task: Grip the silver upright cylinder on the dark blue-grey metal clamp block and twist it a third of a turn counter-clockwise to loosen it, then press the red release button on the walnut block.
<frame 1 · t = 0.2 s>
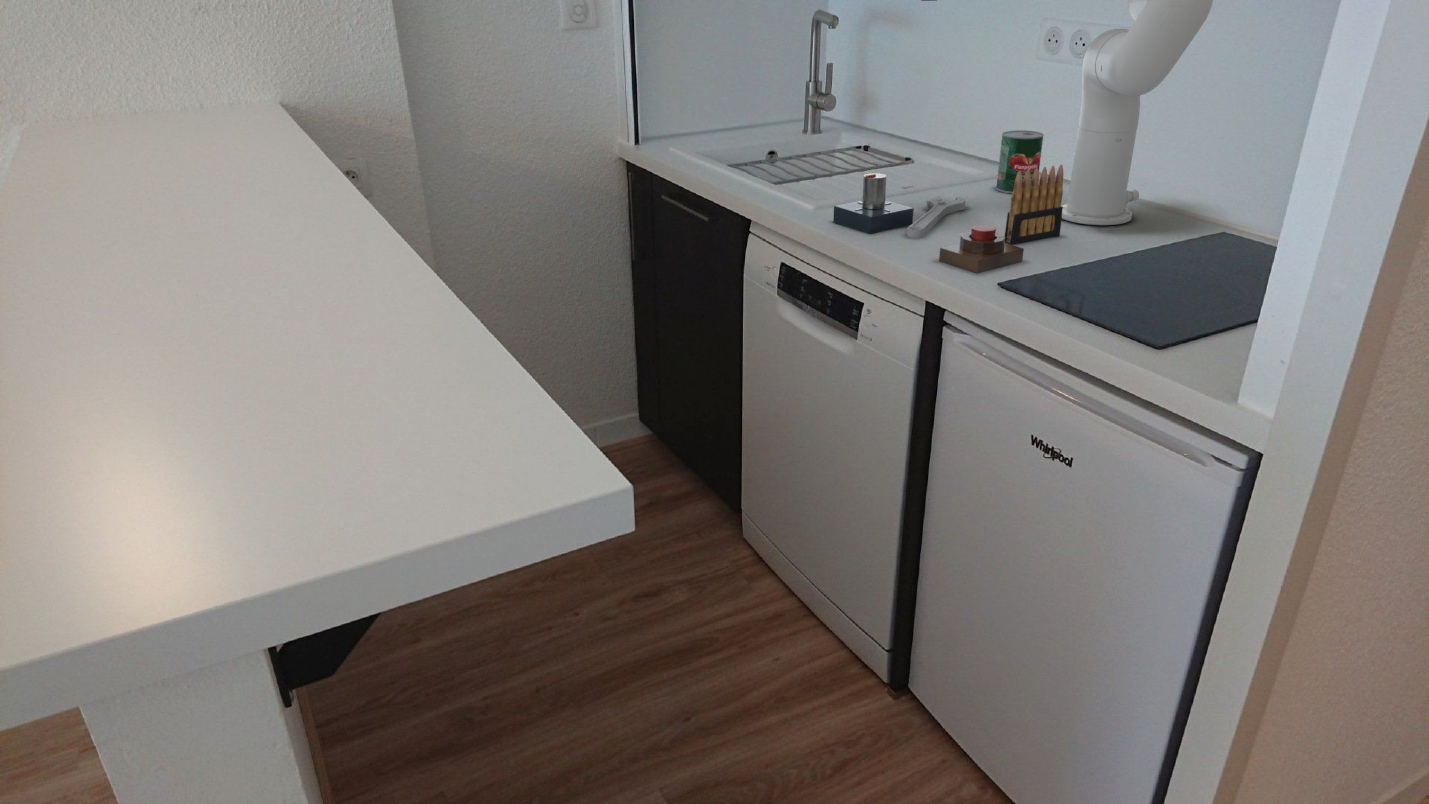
release button: (983, 233, 147), point 4 cm above the table, slide at 0.1 cm
silver upright cylinder: (874, 190, 169), point 6 cm above the table, hinge at 0.0°
clamp block: (872, 223, 171), on the table
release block: (980, 261, 149), on the table
ammunition clip: (1031, 240, 160), on the table
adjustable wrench: (929, 220, 173), on the table
canned tomato: (1016, 190, 192), on the table
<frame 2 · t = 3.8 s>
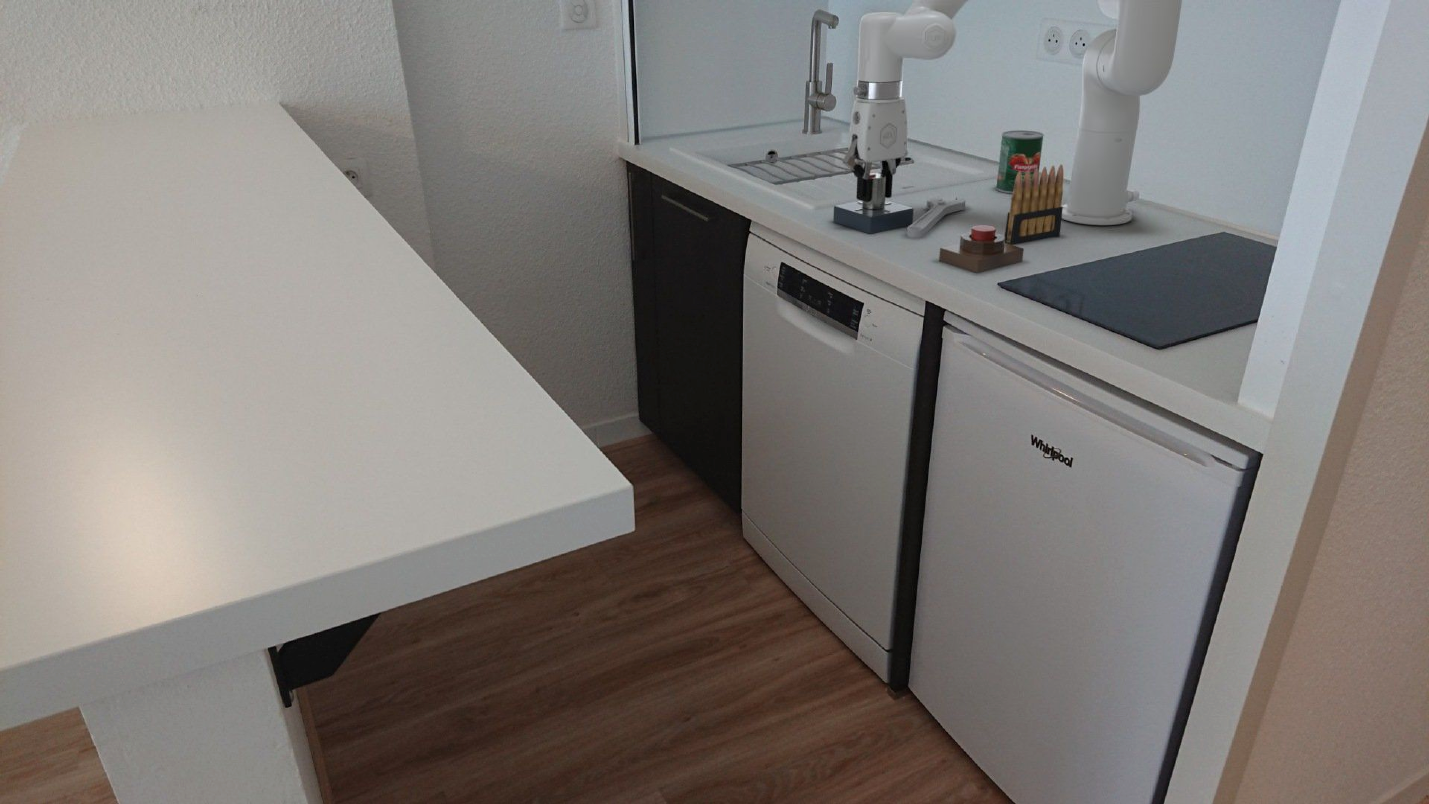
hand: (873, 197, 169), 5 cm above the table, tool pointing down, fingers closed on silver upright cylinder, 4 cm apart
silver upright cylinder: (874, 190, 169), point 6 cm above the table, hinge at 0.1°, touching gripper
everything else where it was.
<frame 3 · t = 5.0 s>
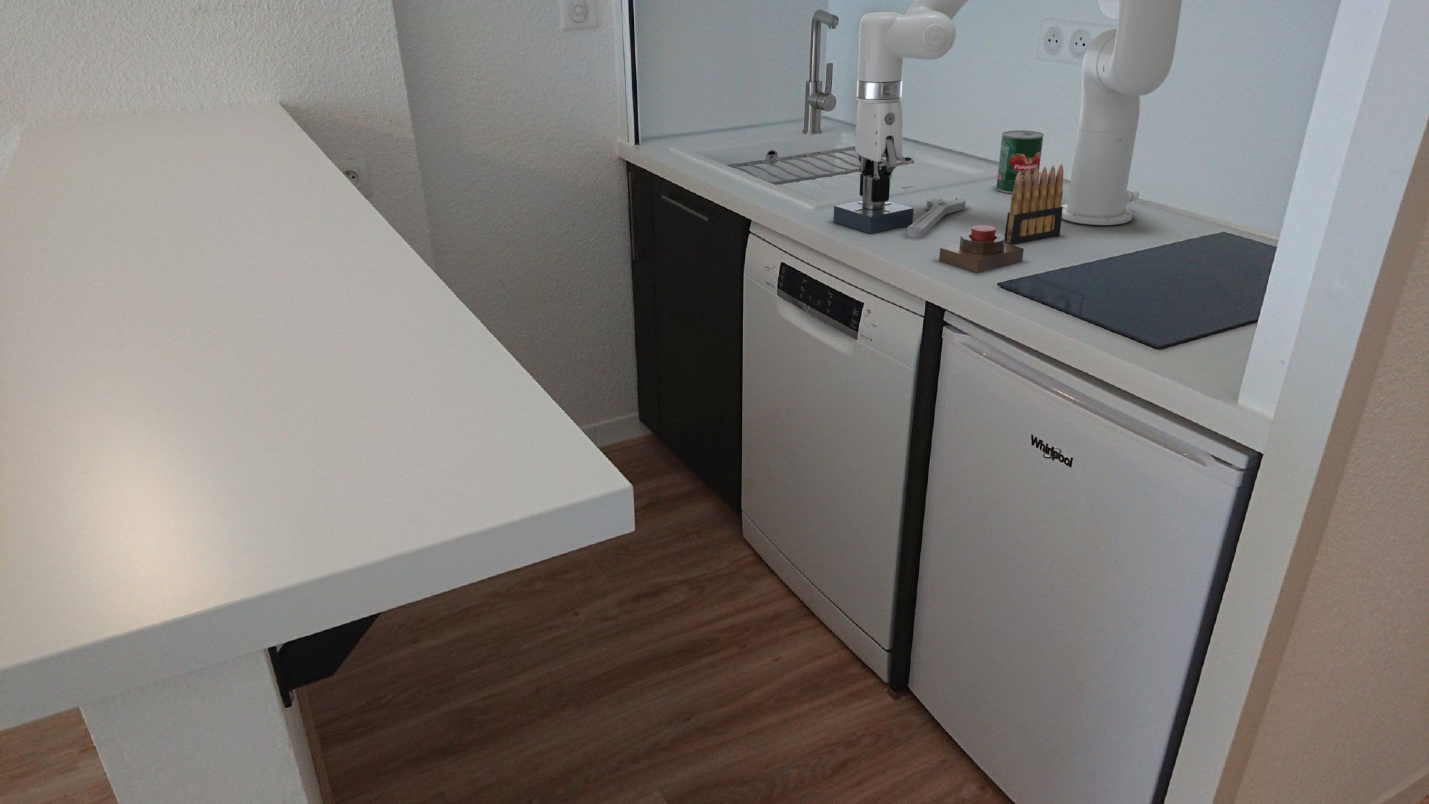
hand: (874, 197, 169), 5 cm above the table, tool pointing down, fingers closed on silver upright cylinder, 4 cm apart
silver upright cylinder: (874, 190, 169), point 6 cm above the table, hinge at 73.2°, touching gripper
everything else where it was.
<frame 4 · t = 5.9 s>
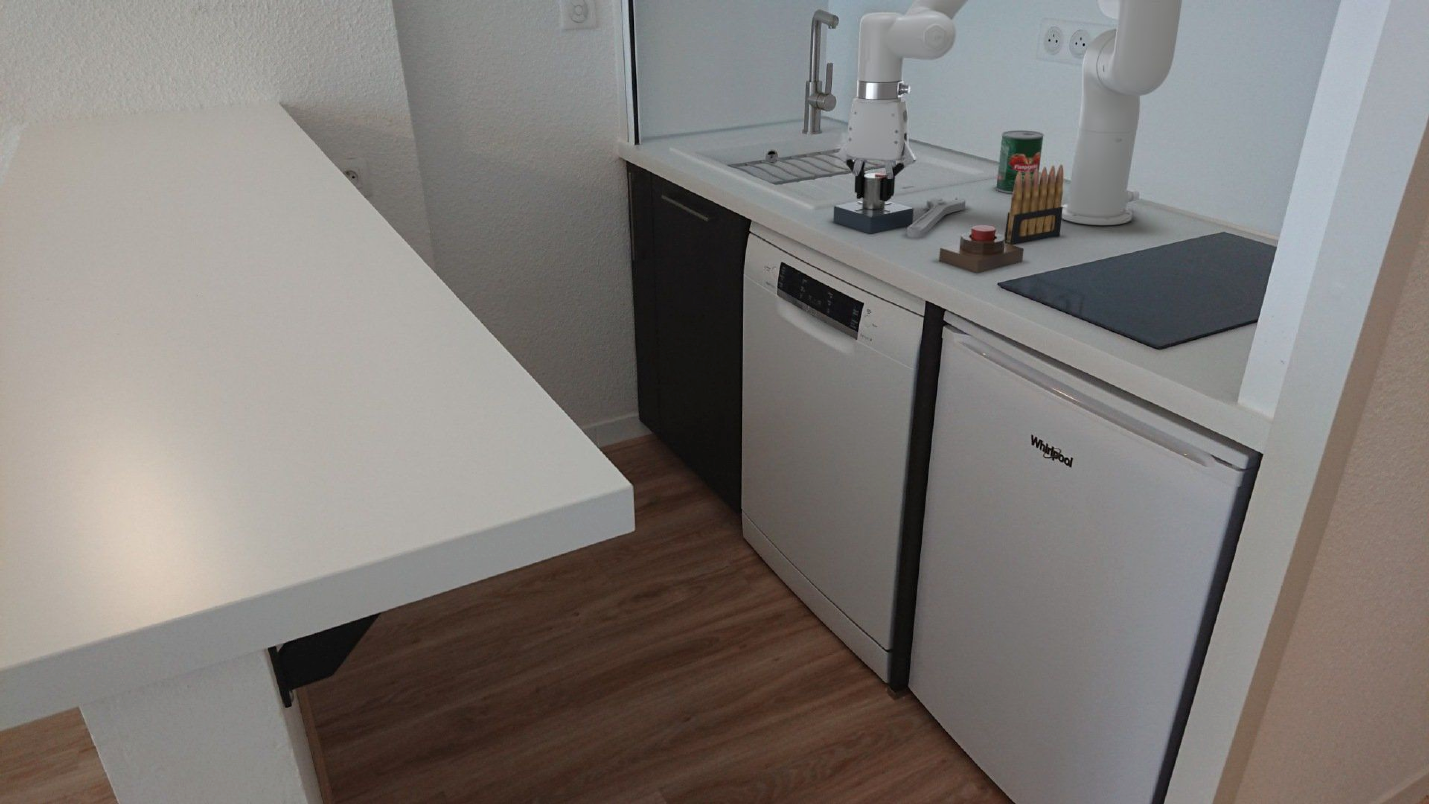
hand: (873, 197, 169), 5 cm above the table, tool pointing down, fingers closed on silver upright cylinder, 4 cm apart
silver upright cylinder: (874, 190, 169), point 6 cm above the table, hinge at 120.6°, touching gripper
everything else where it was.
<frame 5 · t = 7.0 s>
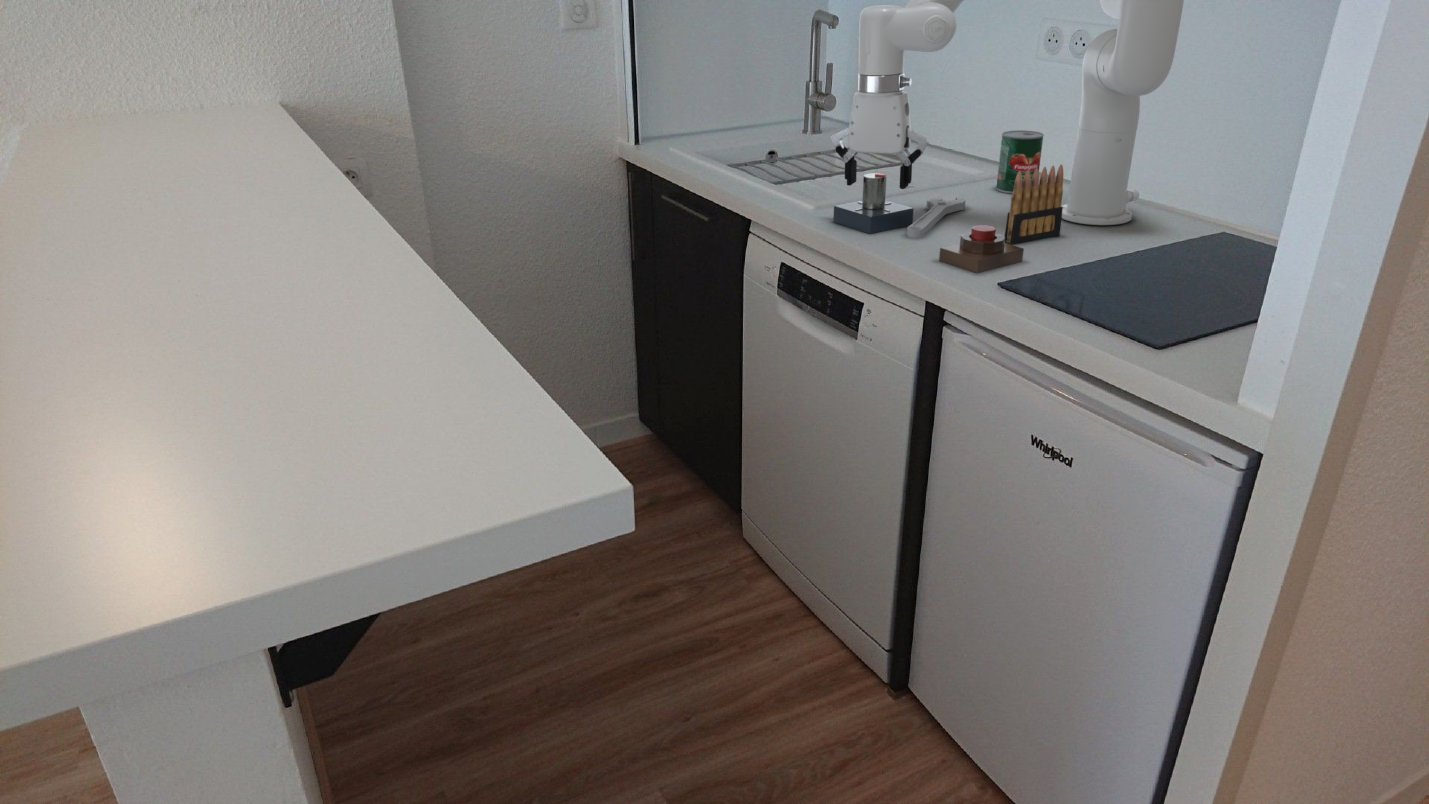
hand: (877, 185, 168), 7 cm above the table, tool pointing down, fingers open, 9 cm apart
silver upright cylinder: (874, 190, 169), point 6 cm above the table, hinge at 120.0°
everything else where it was.
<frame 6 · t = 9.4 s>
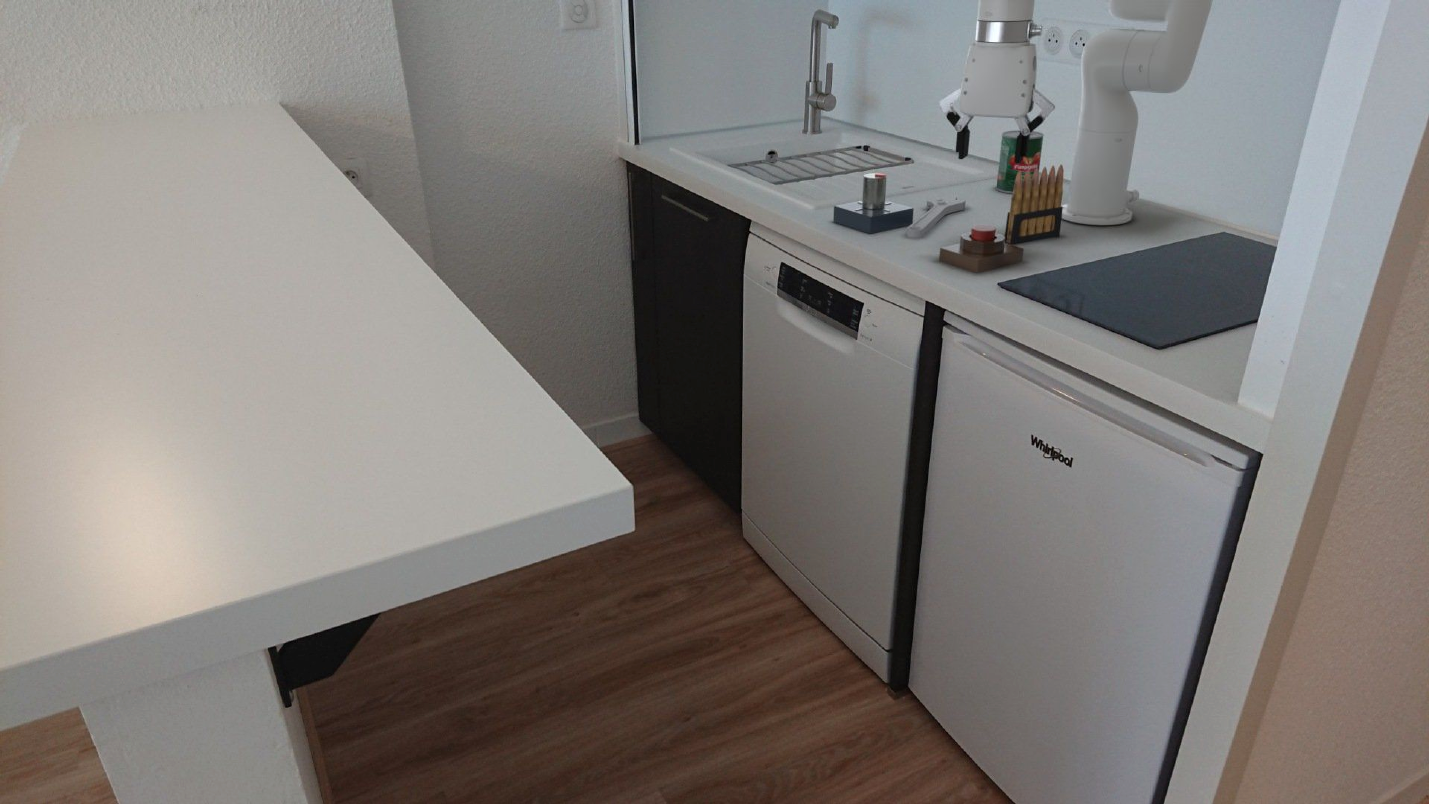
hand: (990, 158, 142), 16 cm above the table, tool pointing down, fingers open, 7 cm apart
nothing on the table moved.
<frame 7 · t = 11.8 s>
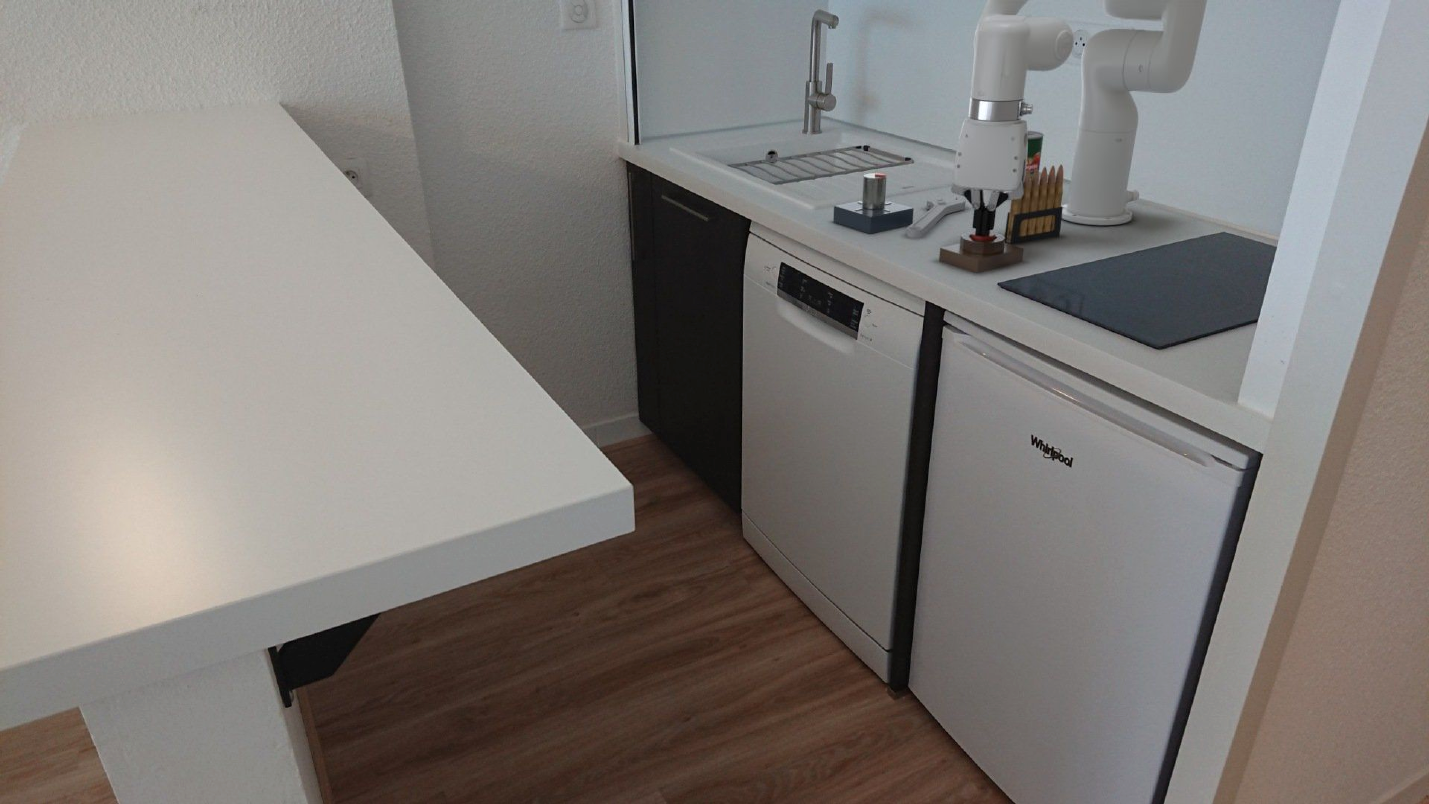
hand: (982, 233, 147), 5 cm above the table, tool pointing down, fingers closed
release button: (982, 239, 148), point 4 cm above the table, slide at -0.7 cm, touching gripper
everything else where it was.
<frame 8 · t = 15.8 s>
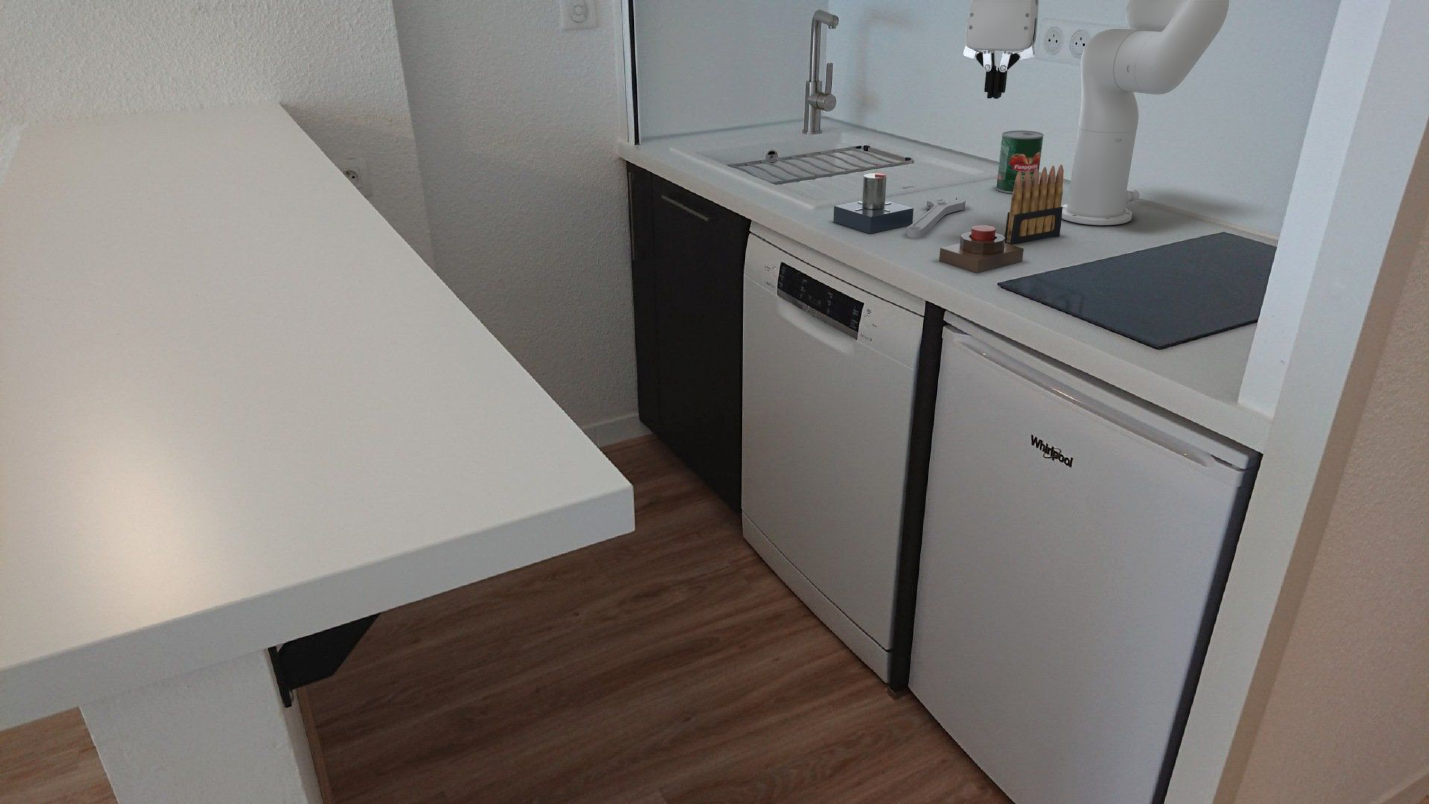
hand: (994, 97, 150), 23 cm above the table, tool pointing down, fingers closed
release button: (983, 233, 147), point 4 cm above the table, slide at 0.1 cm
everything else where it was.
at the end: silver upright cylinder at +120° (first picture: +0°); release button pushed in 1.1 cm at the most during the clip, back to where it started at the end; release button slide at 0.1 cm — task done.
